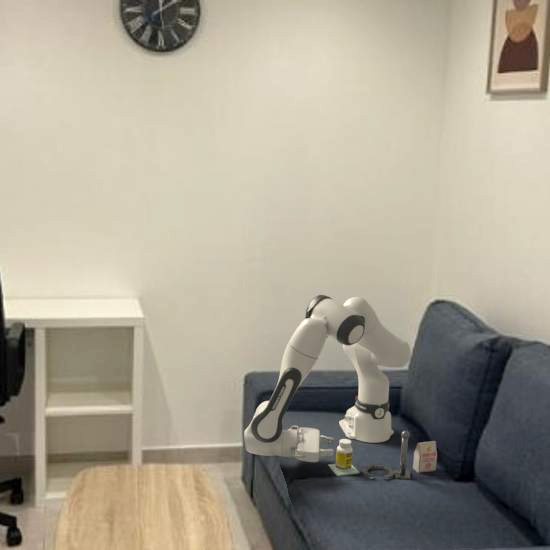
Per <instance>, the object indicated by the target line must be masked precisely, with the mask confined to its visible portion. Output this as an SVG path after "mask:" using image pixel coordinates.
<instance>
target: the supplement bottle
mask: <svg viewBox="0 0 550 550" xmlns="http://www.w3.org/2000/svg"><path fill="white" fill-rule="evenodd" d="M338 444H339V445H338V446H337V447H336V452H335V453H336V454H335V464H336V466H335V467H336V469H338V470H340V471H349V470H351V466H352V465H353V463H352V462H353V453H354V452H353V447H352V440H351V439H349V438H341V439H339V442H338Z"/></svg>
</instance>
